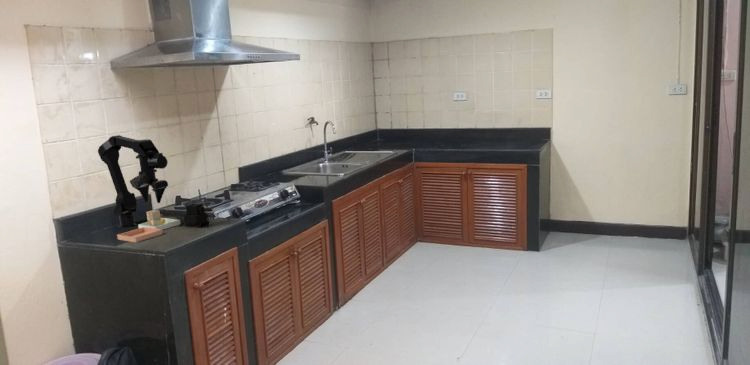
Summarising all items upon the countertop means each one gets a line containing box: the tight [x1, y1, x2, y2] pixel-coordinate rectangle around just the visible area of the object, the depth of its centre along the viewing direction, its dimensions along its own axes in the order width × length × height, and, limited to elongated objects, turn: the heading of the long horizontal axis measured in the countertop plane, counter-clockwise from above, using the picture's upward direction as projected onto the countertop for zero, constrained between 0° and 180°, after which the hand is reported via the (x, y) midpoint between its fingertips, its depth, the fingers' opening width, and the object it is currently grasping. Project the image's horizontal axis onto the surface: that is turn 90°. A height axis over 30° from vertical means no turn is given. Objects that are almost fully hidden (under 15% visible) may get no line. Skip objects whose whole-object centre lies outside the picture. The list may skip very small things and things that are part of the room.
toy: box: [182, 203, 213, 229], centre depth 268 cm, size 8×14×10 cm, turn 66°
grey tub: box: [137, 217, 181, 231], centre depth 273 cm, size 13×13×2 cm
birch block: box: [146, 209, 162, 227], centre depth 270 cm, size 4×4×8 cm
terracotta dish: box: [116, 227, 163, 243], centre depth 257 cm, size 13×13×2 cm
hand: (152, 202), depth 269 cm, fingers open, 9 cm apart
